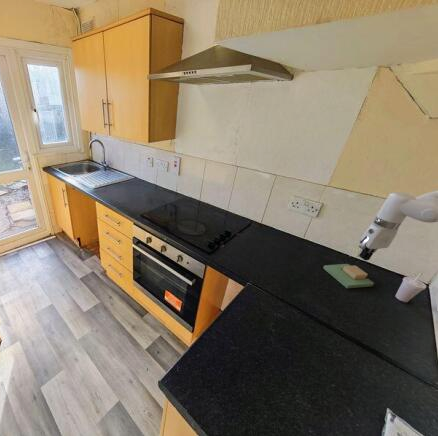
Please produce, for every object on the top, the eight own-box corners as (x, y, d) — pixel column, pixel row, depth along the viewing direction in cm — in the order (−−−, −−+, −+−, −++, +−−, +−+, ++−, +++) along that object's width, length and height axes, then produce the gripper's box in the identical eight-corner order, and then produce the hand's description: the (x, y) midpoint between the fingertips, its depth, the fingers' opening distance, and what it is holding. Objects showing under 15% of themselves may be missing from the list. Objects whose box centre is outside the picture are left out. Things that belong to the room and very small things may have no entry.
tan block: (351, 271, 109) (355, 265, 107) (363, 280, 103) (367, 274, 101) (340, 272, 108) (344, 266, 106) (352, 281, 103) (356, 275, 101)
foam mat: (346, 266, 112) (348, 263, 111) (372, 286, 100) (374, 283, 99) (322, 268, 110) (324, 265, 109) (346, 288, 99) (348, 285, 98)
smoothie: (408, 297, 96) (430, 272, 89) (414, 307, 91) (437, 282, 84) (388, 290, 99) (408, 266, 92) (392, 300, 94) (413, 275, 87)
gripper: (379, 228, 87) (356, 265, 96) (412, 226, 89) (386, 262, 98) (361, 218, 93) (341, 253, 102) (392, 217, 95) (369, 252, 104)
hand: (363, 258), depth 100 cm, fingers closed
